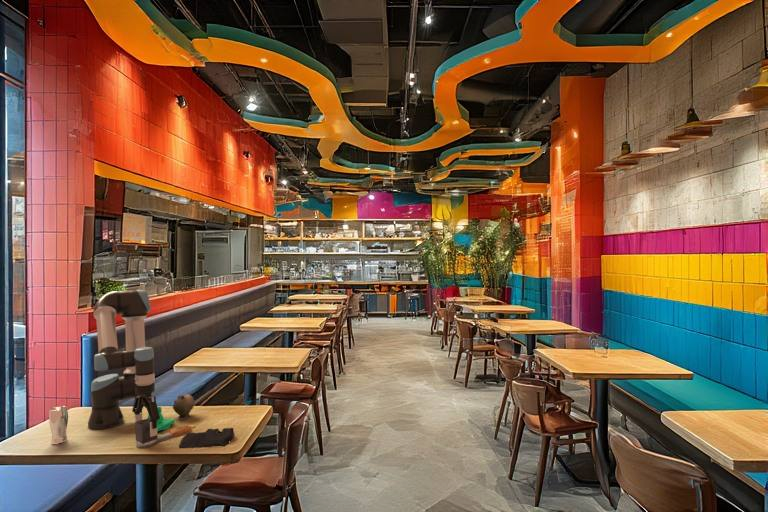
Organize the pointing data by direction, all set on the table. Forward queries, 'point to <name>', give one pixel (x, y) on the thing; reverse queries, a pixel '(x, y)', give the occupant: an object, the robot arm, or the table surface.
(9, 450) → the table surface
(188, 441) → the dark slate chunk
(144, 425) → the brushed brown cube
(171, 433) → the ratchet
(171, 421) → the camera mount
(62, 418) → the beer glass
